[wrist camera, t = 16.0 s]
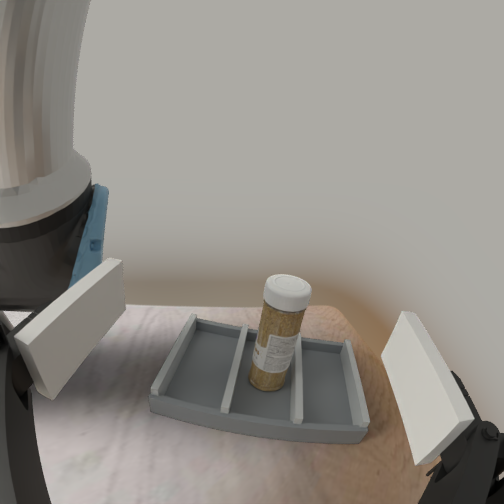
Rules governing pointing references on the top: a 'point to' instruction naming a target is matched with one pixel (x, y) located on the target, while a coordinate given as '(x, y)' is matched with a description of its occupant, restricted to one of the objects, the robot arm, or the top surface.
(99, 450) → the top surface
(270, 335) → the spice jar
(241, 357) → the tray
